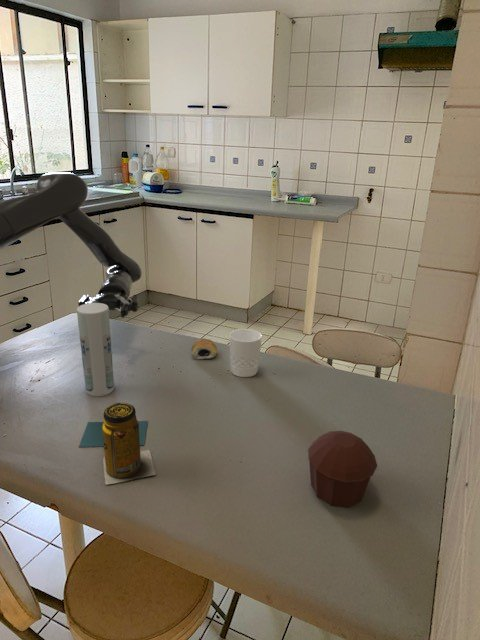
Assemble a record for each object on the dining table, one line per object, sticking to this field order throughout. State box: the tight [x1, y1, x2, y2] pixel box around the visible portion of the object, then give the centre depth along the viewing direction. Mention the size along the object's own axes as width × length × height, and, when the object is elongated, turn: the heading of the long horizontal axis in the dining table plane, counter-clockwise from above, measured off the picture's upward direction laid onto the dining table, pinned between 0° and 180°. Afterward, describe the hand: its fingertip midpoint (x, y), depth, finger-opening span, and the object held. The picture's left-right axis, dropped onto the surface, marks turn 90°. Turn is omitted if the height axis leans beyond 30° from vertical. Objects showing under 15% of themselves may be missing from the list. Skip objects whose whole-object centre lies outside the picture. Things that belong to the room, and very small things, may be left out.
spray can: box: [76, 303, 115, 397], centre depth 102 cm, size 6×6×20 cm
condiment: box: [102, 402, 157, 486], centre depth 80 cm, size 7×8×12 cm
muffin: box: [307, 430, 378, 508], centre depth 77 cm, size 12×11×10 cm
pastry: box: [191, 337, 218, 360], centre depth 125 cm, size 9×7×4 cm
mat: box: [78, 420, 149, 448], centre depth 91 cm, size 12×8×1 cm, turn 95°
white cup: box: [229, 328, 263, 378], centre depth 115 cm, size 8×8×10 cm
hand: (104, 313), depth 111 cm, fingers open, 8 cm apart
